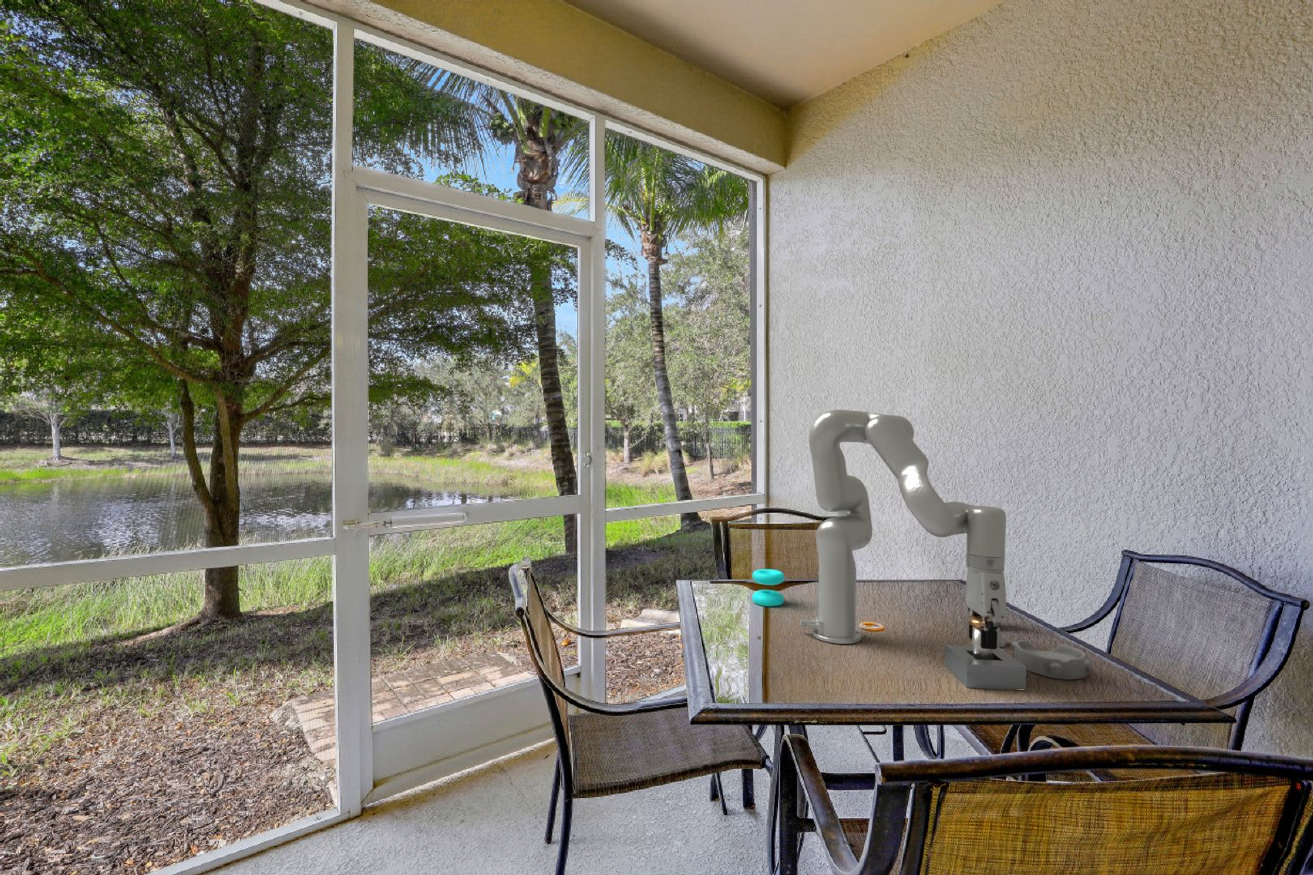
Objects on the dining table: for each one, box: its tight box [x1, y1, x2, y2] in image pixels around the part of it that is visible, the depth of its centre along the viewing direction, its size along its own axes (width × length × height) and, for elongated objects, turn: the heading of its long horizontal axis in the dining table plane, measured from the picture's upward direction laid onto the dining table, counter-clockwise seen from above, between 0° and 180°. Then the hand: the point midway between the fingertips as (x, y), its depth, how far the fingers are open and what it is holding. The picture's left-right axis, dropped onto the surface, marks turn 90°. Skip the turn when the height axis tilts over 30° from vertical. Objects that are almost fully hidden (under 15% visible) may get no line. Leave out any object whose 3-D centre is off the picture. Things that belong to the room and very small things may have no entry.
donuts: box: [751, 568, 785, 607], centre depth 192 cm, size 10×10×10 cm
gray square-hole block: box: [944, 644, 1027, 691], centre depth 135 cm, size 12×12×5 cm
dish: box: [1011, 639, 1093, 680], centre depth 140 cm, size 14×14×5 cm
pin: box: [968, 616, 993, 660], centre depth 135 cm, size 5×5×11 cm
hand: (982, 642), depth 135 cm, fingers closed on pin, 5 cm apart
